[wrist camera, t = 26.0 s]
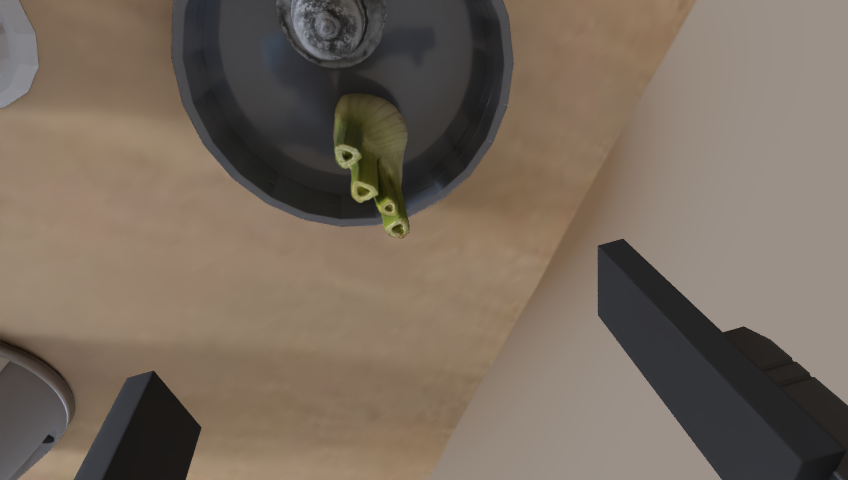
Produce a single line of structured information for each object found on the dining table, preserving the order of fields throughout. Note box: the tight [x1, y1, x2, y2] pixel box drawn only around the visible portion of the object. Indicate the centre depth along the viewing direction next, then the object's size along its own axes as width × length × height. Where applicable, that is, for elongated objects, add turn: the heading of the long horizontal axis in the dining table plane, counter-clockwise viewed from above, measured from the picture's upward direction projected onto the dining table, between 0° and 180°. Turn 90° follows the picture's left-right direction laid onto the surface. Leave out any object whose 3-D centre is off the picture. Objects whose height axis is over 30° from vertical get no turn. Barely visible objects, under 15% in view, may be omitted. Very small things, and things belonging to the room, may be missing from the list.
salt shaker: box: [276, 0, 387, 69], centre depth 22 cm, size 6×6×12 cm
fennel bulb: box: [333, 93, 409, 239], centre depth 26 cm, size 6×5×12 cm
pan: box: [171, 0, 513, 227], centre depth 27 cm, size 19×19×4 cm
